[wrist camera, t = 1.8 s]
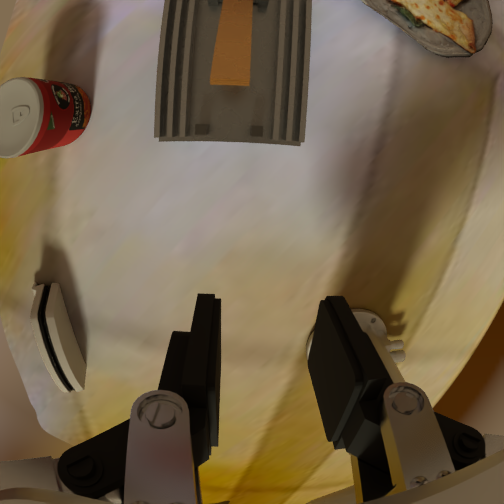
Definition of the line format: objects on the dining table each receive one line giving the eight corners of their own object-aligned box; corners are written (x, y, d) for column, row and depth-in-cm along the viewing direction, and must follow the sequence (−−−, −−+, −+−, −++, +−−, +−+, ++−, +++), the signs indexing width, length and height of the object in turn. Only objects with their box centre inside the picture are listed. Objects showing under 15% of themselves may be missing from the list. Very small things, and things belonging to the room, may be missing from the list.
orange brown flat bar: (252, 5, 22) (252, 0, 21) (249, 86, 20) (249, 79, 19) (223, 4, 22) (223, -2, 21) (210, 84, 19) (209, 78, 19)
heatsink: (302, 5, 25) (314, -15, 20) (294, 144, 32) (306, 148, 26) (176, 0, 24) (165, -20, 19) (165, 139, 31) (151, 143, 25)
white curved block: (33, 280, 37) (17, 317, 28) (60, 276, 38) (48, 314, 30) (63, 363, 43) (59, 406, 35) (87, 361, 45) (86, 403, 36)
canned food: (101, 125, 29) (50, 130, 19) (52, 157, 30) (-4, 174, 20) (81, 71, 26) (28, 59, 16) (34, 106, 27) (-24, 109, 17)
